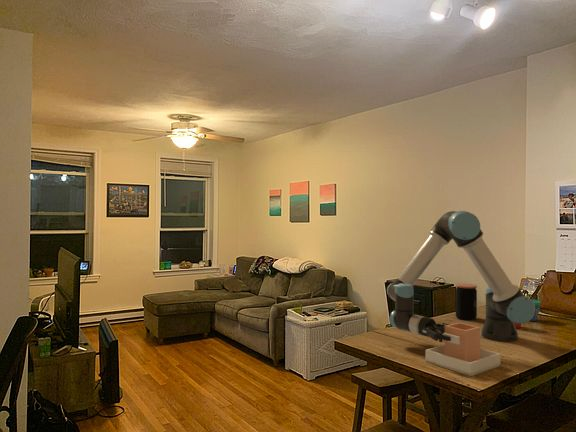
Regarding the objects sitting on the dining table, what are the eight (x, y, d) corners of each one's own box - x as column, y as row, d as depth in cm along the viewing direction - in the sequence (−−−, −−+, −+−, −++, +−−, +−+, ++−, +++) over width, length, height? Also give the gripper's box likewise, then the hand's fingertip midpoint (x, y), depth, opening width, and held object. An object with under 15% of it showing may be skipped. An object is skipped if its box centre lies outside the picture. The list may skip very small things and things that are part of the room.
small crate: (458, 355, 175) (458, 322, 174) (480, 361, 167) (480, 327, 167) (444, 359, 169) (444, 325, 169) (465, 366, 162) (466, 330, 162)
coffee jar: (478, 321, 235) (478, 287, 234) (457, 320, 237) (457, 286, 237) (474, 316, 245) (474, 283, 245) (454, 315, 247) (454, 283, 247)
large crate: (455, 352, 181) (455, 341, 181) (500, 365, 166) (500, 353, 166) (425, 361, 170) (425, 349, 170) (470, 376, 155) (470, 363, 155)
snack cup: (523, 315, 247) (524, 297, 247) (545, 319, 240) (545, 300, 240) (513, 320, 236) (513, 301, 236) (535, 324, 229) (535, 304, 229)
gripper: (441, 330, 190) (488, 342, 173) (402, 339, 176) (449, 353, 158) (441, 312, 190) (488, 322, 173) (402, 320, 176) (449, 332, 158)
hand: (470, 337), depth 166 cm, fingers open, 13 cm apart
